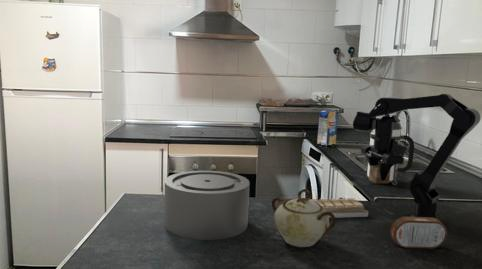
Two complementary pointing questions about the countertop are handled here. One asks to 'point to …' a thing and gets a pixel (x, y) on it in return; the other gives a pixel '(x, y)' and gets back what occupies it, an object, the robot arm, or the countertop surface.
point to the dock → (350, 213)
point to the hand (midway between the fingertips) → (379, 178)
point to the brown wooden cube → (377, 175)
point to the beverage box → (327, 127)
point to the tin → (418, 232)
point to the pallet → (340, 204)
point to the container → (206, 204)
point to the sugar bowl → (301, 220)
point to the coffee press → (397, 137)
